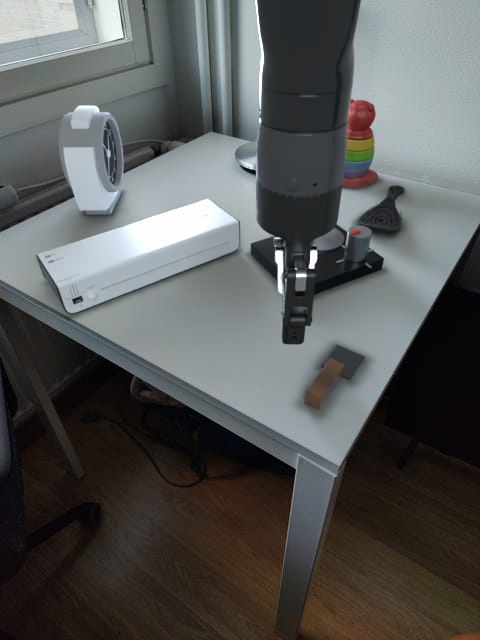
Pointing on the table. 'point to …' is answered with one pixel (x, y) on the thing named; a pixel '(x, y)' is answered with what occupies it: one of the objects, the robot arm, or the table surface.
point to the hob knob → (357, 243)
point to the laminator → (138, 254)
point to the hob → (323, 263)
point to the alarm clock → (92, 158)
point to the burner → (329, 241)
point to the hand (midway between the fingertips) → (289, 314)
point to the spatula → (332, 375)
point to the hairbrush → (384, 213)
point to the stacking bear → (360, 145)
